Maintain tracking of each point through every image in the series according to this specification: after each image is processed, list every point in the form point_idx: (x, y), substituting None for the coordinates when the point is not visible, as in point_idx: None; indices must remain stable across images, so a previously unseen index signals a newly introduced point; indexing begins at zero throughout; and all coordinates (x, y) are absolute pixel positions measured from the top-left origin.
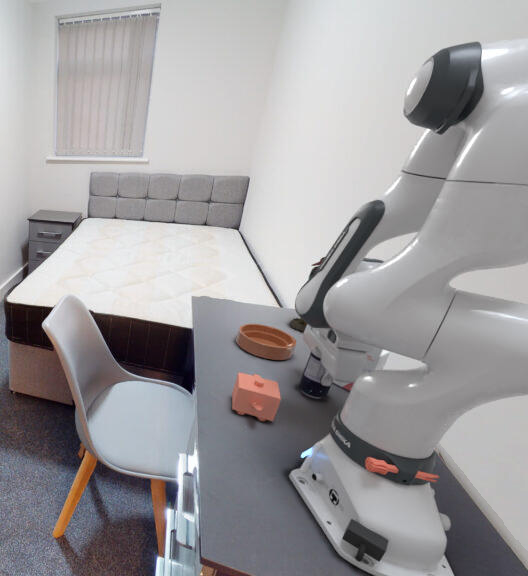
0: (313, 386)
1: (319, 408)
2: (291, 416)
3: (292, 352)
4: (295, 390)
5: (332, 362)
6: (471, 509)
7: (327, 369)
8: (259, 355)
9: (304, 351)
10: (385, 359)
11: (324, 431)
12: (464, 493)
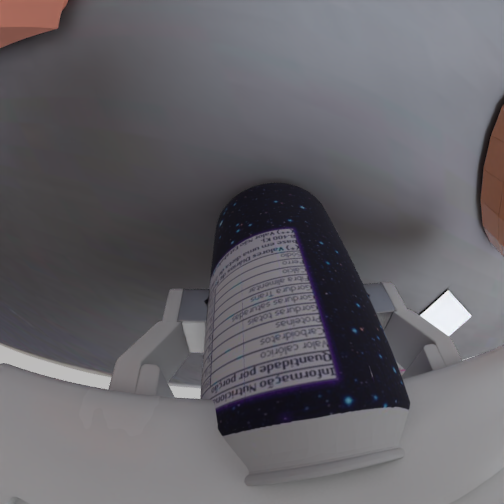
0: (217, 243)
1: (157, 223)
2: (47, 109)
3: (499, 248)
4: (271, 164)
5: (25, 466)
6: (19, 344)
7: (64, 397)
8: (501, 118)
9: (495, 281)
10: None
11: (31, 203)
12: (44, 356)
